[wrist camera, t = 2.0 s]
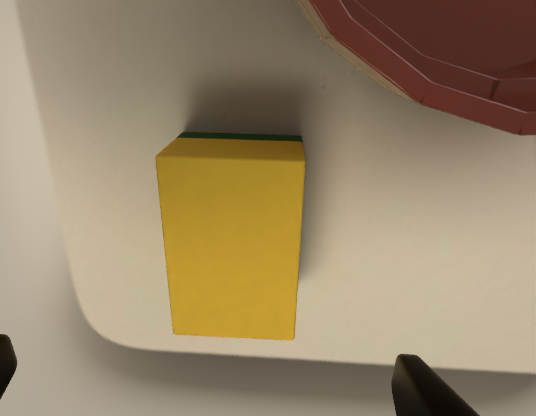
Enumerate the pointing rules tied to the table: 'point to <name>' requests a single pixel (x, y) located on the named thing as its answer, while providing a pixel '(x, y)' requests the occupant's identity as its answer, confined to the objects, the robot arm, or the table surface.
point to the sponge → (232, 232)
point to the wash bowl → (441, 53)
